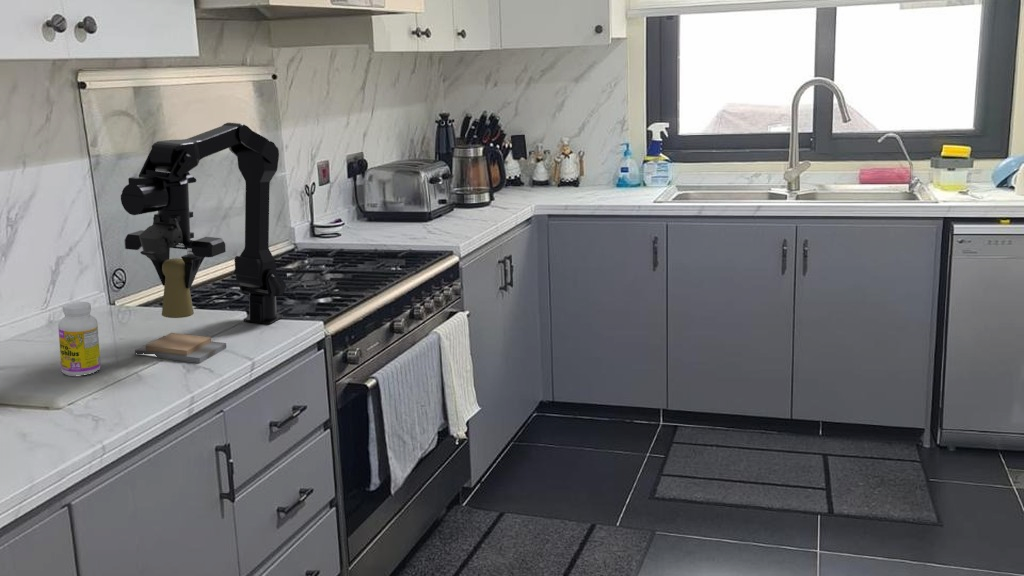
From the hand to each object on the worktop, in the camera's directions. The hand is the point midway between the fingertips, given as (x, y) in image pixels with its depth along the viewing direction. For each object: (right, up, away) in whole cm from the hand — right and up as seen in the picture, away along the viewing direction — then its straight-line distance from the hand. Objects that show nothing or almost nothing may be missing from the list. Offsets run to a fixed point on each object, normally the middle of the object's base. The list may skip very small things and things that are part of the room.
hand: (176, 286), depth 192 cm
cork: (0, -6, +1) cm, 6 cm away
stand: (0, -13, +3) cm, 13 cm away
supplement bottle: (-14, -16, -10) cm, 24 cm away
